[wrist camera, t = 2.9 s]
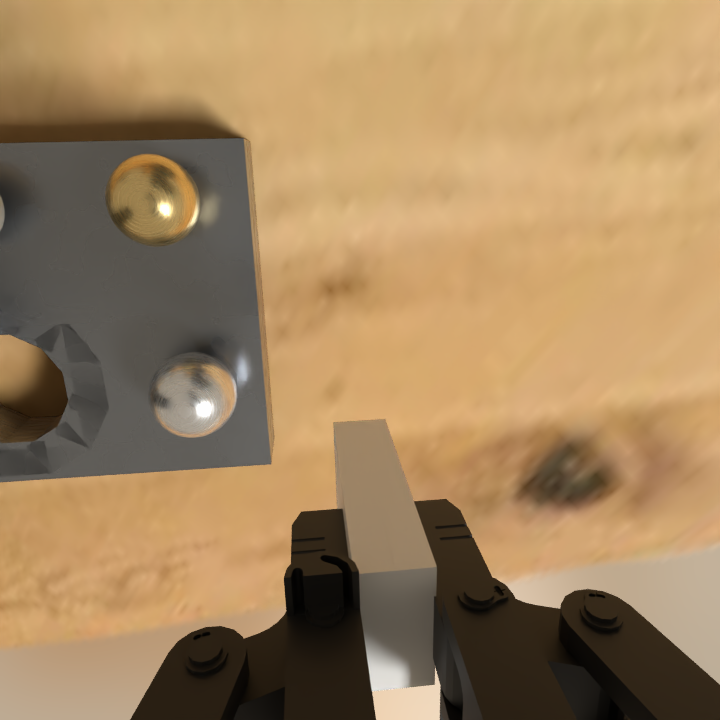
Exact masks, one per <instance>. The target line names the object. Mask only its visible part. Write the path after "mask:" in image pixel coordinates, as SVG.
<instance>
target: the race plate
mask: <svg viewBox="0 0 720 720" xmlns="http://www.w3.org/2000/svg"><path fill="white" fill-rule="evenodd" d="M141 154H156V155H161V156H164V157H167V158H169V159H171V160H173V161H175V162H177V163H178V164H180V165H181V166H182V167H183V168H184V169H185V170H186V171H187V172H188V173H189V174H190V175H191V177H192V178H193V180H194V182H195V184H196V186H197V188H198V192H199V195H200V205H201V206H200V214H199V218H198V221H197V223H196V225H195V227H194V228H193V230H192V231H191V232H190V233H189V234H188V235H187V236H186V237H185V238H184V239H182V240H181V241H179V242H177V243H174V244H172V245H168V246H162V247H152V246H146V245H143V244H140V243H137V242H135V241H133V240H131V239H129V238H128V237H127V236H125V235H124V234H123V233H122V232H121V231H120V230H119V229H118V228H117V227H116V226H115V224H114V223H113V221H112V219H111V217H110V215H109V213H108V210H107V206H106V200H105V191H106V185H107V182H108V179H109V177H110V175H111V174H112V172H113V171H114V169H115V168H116V167H117V166H118V165H119V164H121V163H122V162H123V161H125V160H126V159H128V158H130V157H133V156H136V155H141ZM0 196H1V198H2V201H3V204H4V210H5V217H4V223H3V226H2V229H1V231H0V335H8V334H9V335H12V336H14V337H16V338H19V339H21V340H23V341H26V342H28V343H30V344H32V345H35V346H37V347H39V348H41V349H42V350H43V351H44V352H45V353H46V354H47V356H48V357H49V358H50V359H51V360H52V361H53V362H54V364H55V365H56V366H57V367H58V368H59V369H60V371H61V372H62V373H63V377H64V382H65V387H66V392H67V397H68V404H67V406H66V408H65V411H64V413H63V414H62V415H60V416H52V417H35V418H31V417H28V416H26V415H23V414H21V413H18V412H16V411H13V410H11V409H9V408H6V407H4V406H3V405H2V404H1V403H0V482H11V481H26V480H41V479H56V478H71V477H86V476H101V475H116V474H131V473H146V472H161V471H176V470H191V469H206V468H221V467H236V466H251V465H266V464H271V462H272V453H273V445H274V429H273V416H272V404H271V392H270V379H269V367H268V355H267V342H266V330H265V317H264V305H263V293H262V280H261V268H260V256H259V243H258V231H257V219H256V206H255V194H254V182H253V169H252V157H251V145H250V141H248V140H246V139H244V138H228V139H179V140H131V141H83V142H35V143H0ZM188 352H198V353H204V354H208V355H210V356H213V357H215V358H217V359H218V360H220V361H221V362H222V363H223V364H224V365H225V366H226V367H227V368H228V369H229V370H230V372H231V373H232V375H233V377H234V380H235V383H236V387H237V401H236V406H235V409H234V411H233V413H232V415H231V417H230V418H229V420H228V421H227V422H226V423H225V424H224V425H223V426H222V427H221V428H220V429H218V430H217V431H215V432H213V433H211V434H209V435H206V436H203V437H197V438H187V437H181V436H177V435H175V434H172V433H170V432H169V431H167V430H166V429H164V428H163V427H162V426H161V425H160V424H159V423H158V422H157V421H156V419H155V418H154V416H153V414H152V412H151V410H150V406H149V402H148V390H149V385H150V382H151V379H152V377H153V375H154V373H155V372H156V371H157V369H158V368H159V367H160V366H161V365H162V364H163V363H164V362H165V361H167V360H168V359H170V358H172V357H174V356H176V355H179V354H182V353H188Z"/></svg>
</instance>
